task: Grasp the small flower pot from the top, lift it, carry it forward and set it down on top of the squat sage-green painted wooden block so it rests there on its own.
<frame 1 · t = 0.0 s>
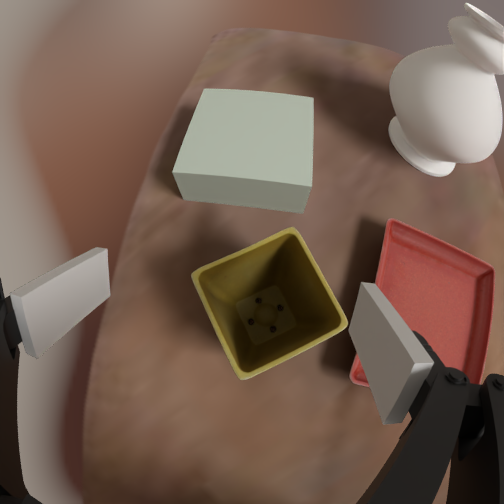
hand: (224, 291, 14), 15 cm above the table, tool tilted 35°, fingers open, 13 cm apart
flower pot: (264, 316, 29), on the table
plant saucer: (425, 321, 28), on the table
decorative vase: (422, 144, 37), on the table
sage block: (250, 160, 35), on the table
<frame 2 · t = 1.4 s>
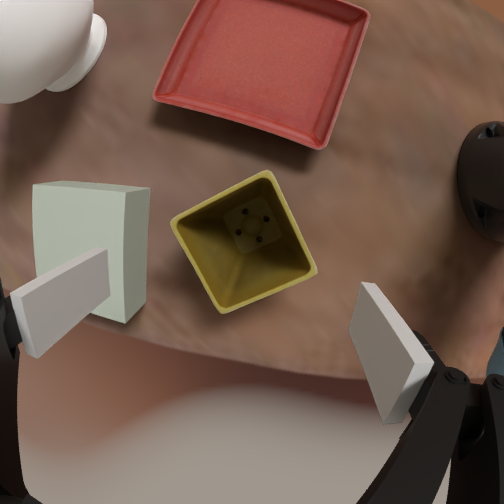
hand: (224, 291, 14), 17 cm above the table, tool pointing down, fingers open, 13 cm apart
flower pot: (254, 225, 30), on the table
plant saucer: (265, 54, 25), on the table
decorative vase: (72, 51, 26), on the table
sage block: (100, 238, 33), on the table
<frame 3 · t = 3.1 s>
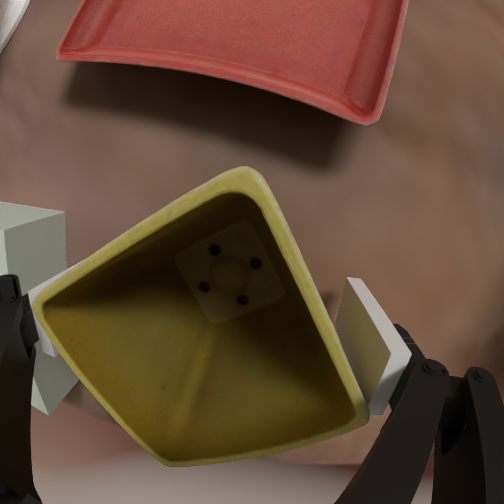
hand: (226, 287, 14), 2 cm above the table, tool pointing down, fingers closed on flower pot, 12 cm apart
flower pot: (232, 274, 16), on the table, touching gripper
sage block: (17, 282, 18), on the table
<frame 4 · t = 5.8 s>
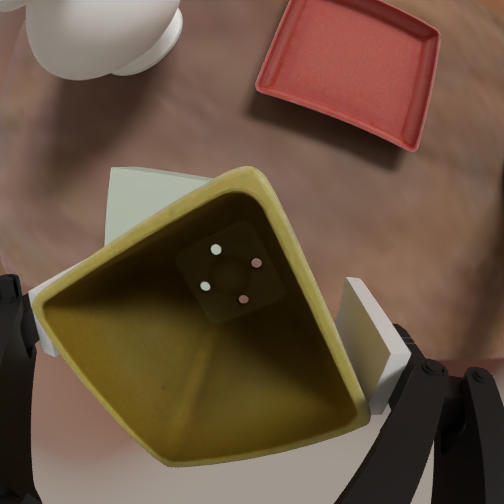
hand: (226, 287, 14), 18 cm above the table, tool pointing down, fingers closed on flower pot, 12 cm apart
flower pot: (233, 274, 16), point 16 cm above the table, touching gripper
plant saucer: (354, 59, 26), on the table
decorative vase: (138, 35, 27), on the table
sage block: (181, 233, 33), on the table
when the fingers open (9 cm above the table, at t = 8.4 s): flower pot drops 2 cm, point 5 cm above the table.
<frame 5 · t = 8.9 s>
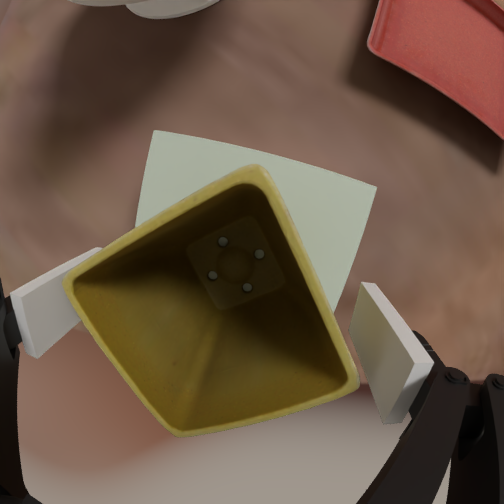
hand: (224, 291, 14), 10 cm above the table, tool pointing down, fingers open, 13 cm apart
flower pot: (238, 264, 18), point 5 cm above the table
plant saucer: (453, 42, 16), on the table
sage block: (245, 241, 24), on the table
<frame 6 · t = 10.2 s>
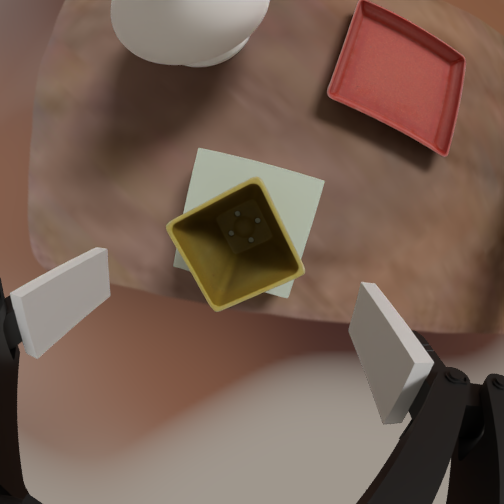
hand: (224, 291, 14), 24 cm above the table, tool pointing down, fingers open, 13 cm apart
flower pot: (245, 227, 32), point 5 cm above the table, touching sage block
plant saucer: (398, 77, 30), on the table
decorative vase: (206, 30, 30), on the table
sage block: (249, 216, 37), on the table, touching flower pot
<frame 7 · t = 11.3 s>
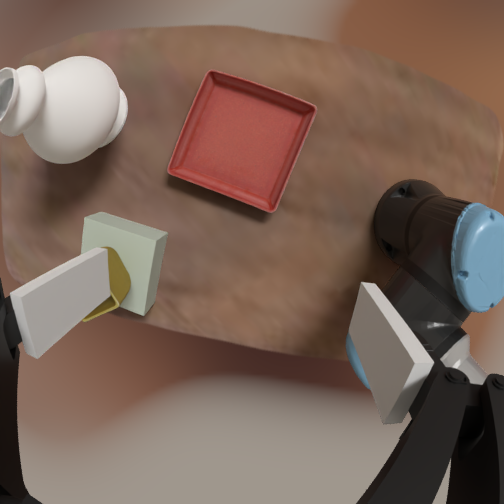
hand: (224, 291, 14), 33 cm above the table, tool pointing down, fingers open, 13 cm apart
flower pot: (114, 268, 45), point 5 cm above the table, touching sage block
plant saucer: (242, 139, 43), on the table
decorative vase: (99, 115, 42), on the table
sage block: (128, 256, 50), on the table, touching flower pot
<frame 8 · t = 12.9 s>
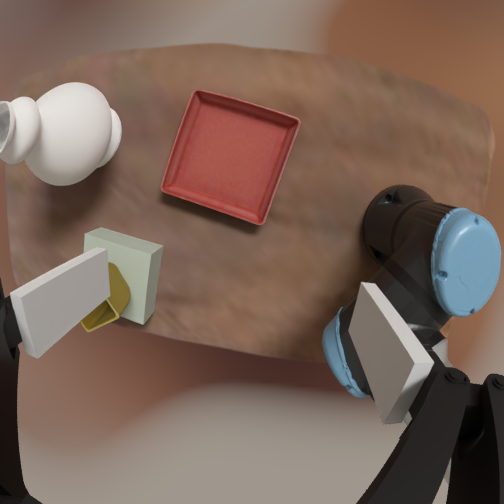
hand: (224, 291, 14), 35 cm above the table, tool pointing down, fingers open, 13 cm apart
flower pot: (115, 281, 47), point 5 cm above the table
plant saucer: (230, 155, 46), on the table
decorative vase: (95, 136, 46), on the table
sage block: (127, 269, 53), on the table
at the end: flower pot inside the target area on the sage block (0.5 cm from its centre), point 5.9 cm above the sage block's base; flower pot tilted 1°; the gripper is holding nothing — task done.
